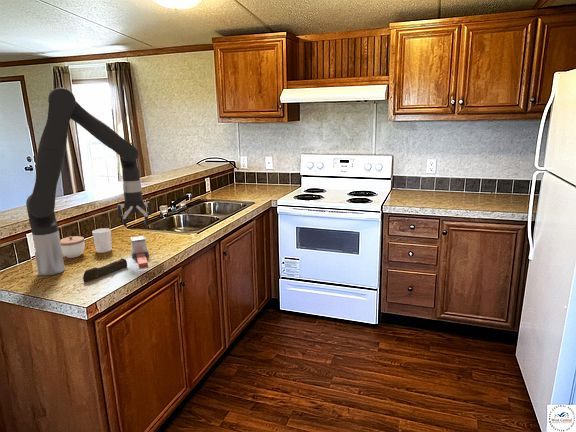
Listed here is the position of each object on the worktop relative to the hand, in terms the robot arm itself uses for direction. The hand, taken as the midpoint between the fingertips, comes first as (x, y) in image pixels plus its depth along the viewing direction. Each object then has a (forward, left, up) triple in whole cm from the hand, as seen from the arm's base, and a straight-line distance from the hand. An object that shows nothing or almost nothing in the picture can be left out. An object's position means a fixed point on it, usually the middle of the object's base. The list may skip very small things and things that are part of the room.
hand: (136, 225), depth 181 cm
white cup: (-15, +14, -14) cm, 25 cm away
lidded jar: (-28, +13, -14) cm, 34 cm away
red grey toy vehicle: (0, -7, -14) cm, 16 cm away
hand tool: (-14, -19, -15) cm, 28 cm away
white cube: (0, 0, -12) cm, 12 cm away
